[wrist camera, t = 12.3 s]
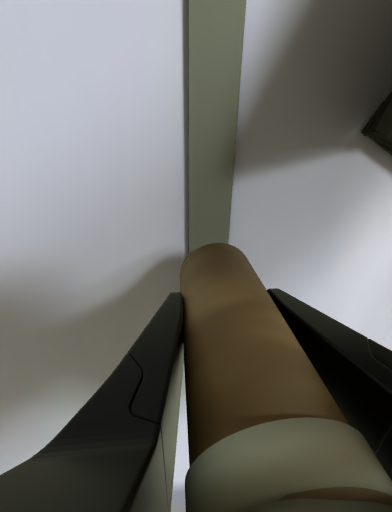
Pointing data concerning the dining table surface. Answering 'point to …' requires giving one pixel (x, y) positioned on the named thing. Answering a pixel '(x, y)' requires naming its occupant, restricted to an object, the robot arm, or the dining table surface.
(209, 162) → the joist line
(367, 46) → the dining table surface
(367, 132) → the handheld gaming console
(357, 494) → the tapered tan cylinder
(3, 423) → the dining table surface
